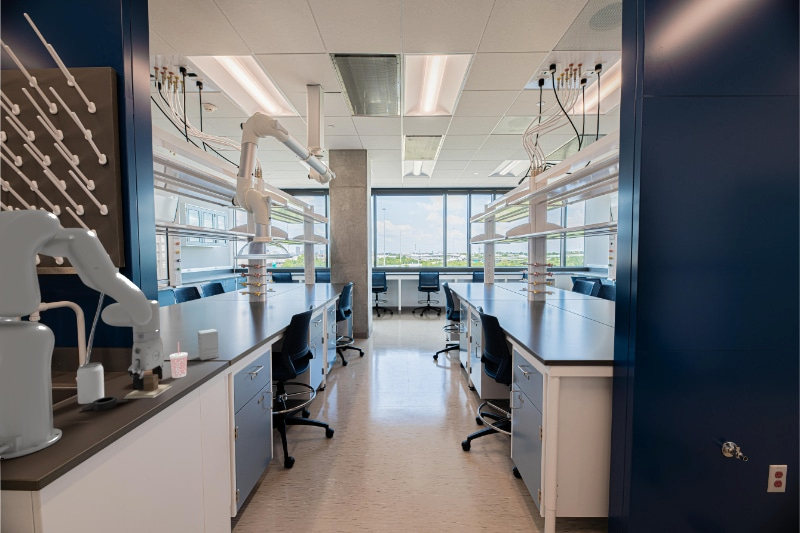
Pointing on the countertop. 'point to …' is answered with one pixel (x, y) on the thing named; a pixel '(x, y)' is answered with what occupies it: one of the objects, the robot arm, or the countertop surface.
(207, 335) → the supplement box
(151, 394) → the lid
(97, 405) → the black winged knob
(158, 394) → the mat
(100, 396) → the can
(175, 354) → the beverage cup
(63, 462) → the countertop surface
